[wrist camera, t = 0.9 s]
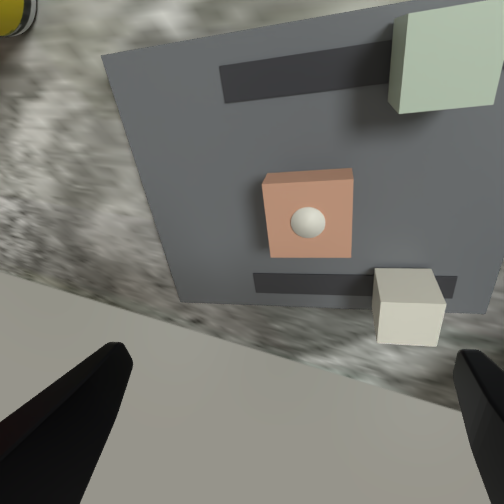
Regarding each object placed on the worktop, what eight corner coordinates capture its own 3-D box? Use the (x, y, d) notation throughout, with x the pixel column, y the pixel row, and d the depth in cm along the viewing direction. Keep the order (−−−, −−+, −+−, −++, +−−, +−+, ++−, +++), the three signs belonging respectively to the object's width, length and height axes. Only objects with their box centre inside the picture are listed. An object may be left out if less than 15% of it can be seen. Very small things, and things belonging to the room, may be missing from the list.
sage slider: (481, 4, 12) (519, -6, 10) (464, 93, 14) (493, 104, 11) (393, 18, 13) (408, 13, 10) (387, 101, 14) (398, 114, 12)
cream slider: (431, 268, 18) (446, 304, 16) (423, 308, 20) (436, 346, 17) (374, 268, 19) (380, 301, 17) (371, 306, 21) (376, 343, 18)
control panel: (563, -24, 13) (599, -34, 11) (473, 292, 21) (486, 315, 19) (122, 54, 18) (99, 55, 16) (190, 285, 26) (180, 303, 24)
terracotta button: (351, 167, 15) (353, 179, 14) (349, 242, 17) (351, 258, 16) (266, 173, 16) (261, 185, 15) (274, 242, 18) (270, 258, 17)
